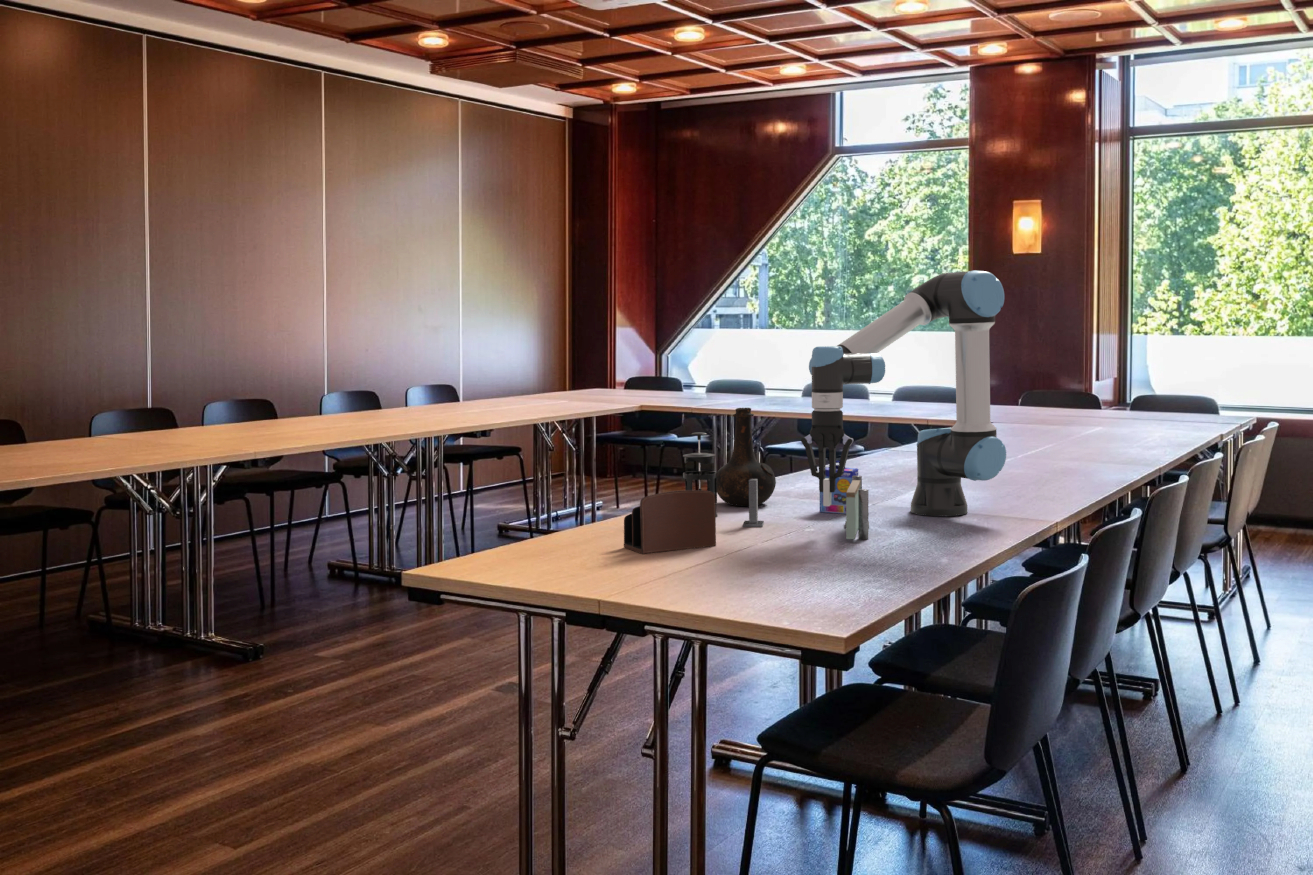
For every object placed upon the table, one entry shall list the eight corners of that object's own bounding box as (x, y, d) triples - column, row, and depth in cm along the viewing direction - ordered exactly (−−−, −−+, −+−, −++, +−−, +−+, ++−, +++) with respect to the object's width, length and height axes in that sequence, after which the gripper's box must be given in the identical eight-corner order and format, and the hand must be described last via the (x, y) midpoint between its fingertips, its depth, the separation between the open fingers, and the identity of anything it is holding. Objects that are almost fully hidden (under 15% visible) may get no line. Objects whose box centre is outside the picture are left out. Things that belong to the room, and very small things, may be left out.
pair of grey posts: (868, 524, 320) (868, 474, 319) (869, 539, 298) (869, 486, 297) (744, 523, 325) (744, 474, 324) (736, 538, 303) (736, 485, 302)
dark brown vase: (760, 510, 346) (759, 410, 343) (703, 506, 355) (702, 409, 352) (786, 501, 362) (785, 406, 359) (731, 498, 370) (730, 405, 368)
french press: (701, 520, 331) (699, 435, 329) (674, 517, 337) (673, 433, 335) (728, 514, 340) (727, 431, 337) (701, 511, 346) (700, 429, 343)
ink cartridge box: (818, 512, 341) (818, 460, 339) (824, 509, 346) (824, 458, 344) (853, 514, 336) (853, 461, 335) (859, 511, 341) (859, 459, 340)
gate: (852, 523, 316) (852, 480, 315) (860, 523, 315) (860, 480, 314) (846, 538, 295) (846, 492, 294) (854, 539, 294) (854, 492, 293)
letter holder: (716, 546, 294) (716, 487, 293) (642, 555, 285) (641, 494, 284) (696, 540, 303) (695, 483, 301) (623, 548, 294) (622, 489, 292)
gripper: (797, 410, 301) (798, 506, 303) (851, 411, 296) (851, 508, 299) (804, 408, 308) (804, 502, 310) (856, 408, 304) (856, 504, 306)
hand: (827, 505), depth 304 cm, fingers closed
